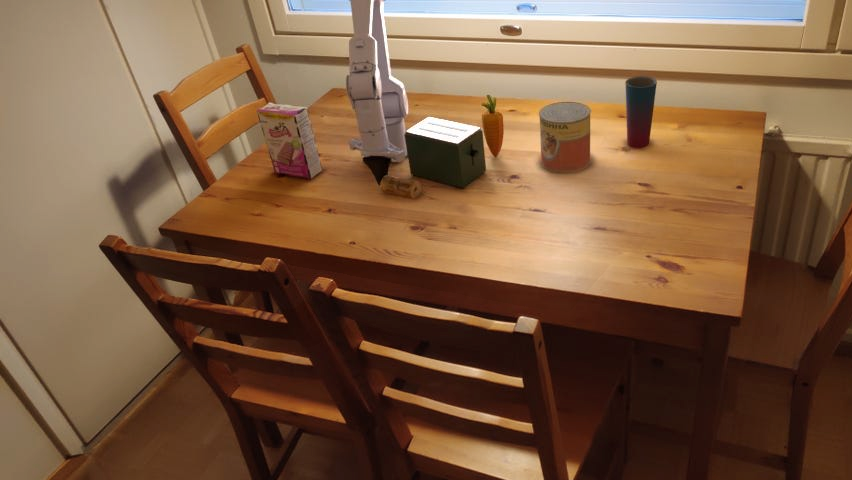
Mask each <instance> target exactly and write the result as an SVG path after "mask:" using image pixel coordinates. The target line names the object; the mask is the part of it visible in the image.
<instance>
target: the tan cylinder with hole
mask: <svg viewBox="0 0 852 480" xmlns="http://www.w3.org/2000/svg"><path fill="white" fill-rule="evenodd" d="M379 187H380V191H381V192H383V193H385V194H388V195H392V196H398V197H402V198H405V199H413V200H414V199H415V198H417V197H418V196H420V193H421V184H420V182H419V181H416V180H413V179H409V178H405V177H395V176H393V175H389V174H388V175H386V176H384V177H383V178H382V180H381V183H380V185H379Z"/></svg>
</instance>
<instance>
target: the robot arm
mask: <svg viewBox="0 0 852 480" xmlns="http://www.w3.org/2000/svg"><path fill="white" fill-rule="evenodd" d="M348 1H349V2H350V9H351V18H352V19H351V20H352V27H353V36H351V38H349V41H348V59H349V60H348V64H349V65H348V66H349V68H348V69H349V74H347V75H346V78H345V88H346V93H347V97H348V99H349V101H350V104H351V108H352V110H354V114H355V117H356V122H357V123H356V124H357V128H358V133H359V137H360V138H352V139H351V140H349V141H348V145H349V150H350V151H356V150H357V151H360V155H361V157H362V163H364V164H365V165H366V166H367V167H368V169H369V170H370V172H371V173H372V175H373V177H374V179H375V181H376V183H377V185H378V186H380V183H381V180H382V178H383V177H384V176H386V175H388V176H389V169H390V165H391V162H392V163H402V162H403V161H404V160H405V159H406V157H408V155H407V149H406V143H405V137H404V134H405V131H407V130H406V125H405V124H406V123H405V118H407V116H408V115H409V101H408V96H407V92H406V87H405V84H404V83H403V82H402V81H400V80H398V79H397V78H395V77H393V76H392V71H391V70H392V69H391V61H390V55H389V48H388V39H387V32H386V31H387V30H386V24H385V17H384V2H385V1H386V0H348Z"/></svg>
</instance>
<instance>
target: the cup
mask: <svg viewBox="0 0 852 480" xmlns="http://www.w3.org/2000/svg"><path fill="white" fill-rule="evenodd" d="M624 83H625V112H626V115H625V116H626V118H625V119H626V143H627V146H628V147H630V148H632V149H643V148H646V147H648V146H649V145H650V141H651V140H650V139H651V131H652V124H653V115H654V107H655V100H656V91H657V84H658V81H657V79H656V78H654V77H650V76H645V75H638V76H632V77H629V78H627V79H626V80H625V82H624Z"/></svg>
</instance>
